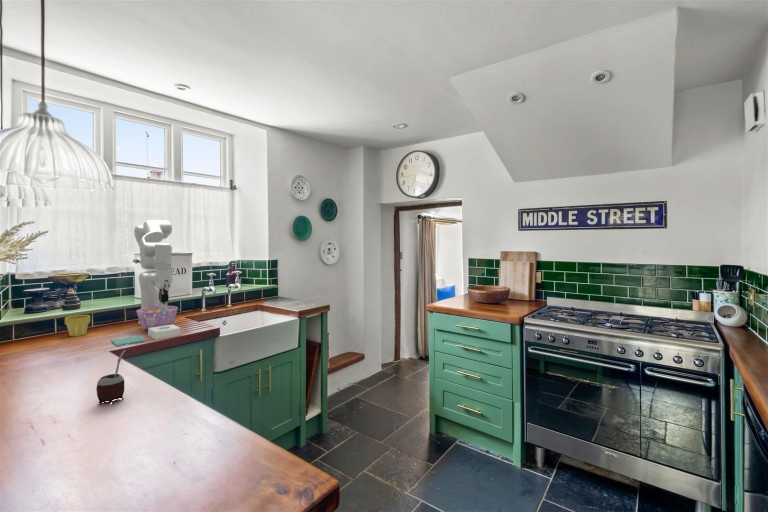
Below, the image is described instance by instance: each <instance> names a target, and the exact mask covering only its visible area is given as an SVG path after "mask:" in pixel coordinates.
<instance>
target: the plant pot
mask: <svg viewBox="0 0 768 512" xmlns="http://www.w3.org/2000/svg"><path fill="white" fill-rule="evenodd" d="M90 323H91V315H89V314H83V315H82V314H79V315H78V314H77V315H72V316H66V317H65V318H64V325H66V327H67V331H68V334H69V337H82V336H86V334H87V330H88V326H89V324H90ZM81 335H82V336H81Z"/></svg>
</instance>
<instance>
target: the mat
mask: <svg viewBox="0 0 768 512" xmlns="http://www.w3.org/2000/svg"><path fill="white" fill-rule="evenodd" d="M144 341H146V342H147V339H146V338H144V337H142V336H141V335H134V336H128V337H122V338H121V337H120V338H115V339H110V342H111V343H112V344H113V345H114V346H116V347H122V346H121V345H123V346H127V345H126V344H129V345H132V344H131V343H135V344H139V343H138V342H140V343H145V342H144Z"/></svg>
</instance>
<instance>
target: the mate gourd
mask: <svg viewBox="0 0 768 512" xmlns="http://www.w3.org/2000/svg"><path fill="white" fill-rule="evenodd" d="M126 351H127V350H126V349H124V350H123V351H122V352H121V354H120V355H119V357H118V358H117V365H116V368H115V373H111V374H106V375H104V376H101V377H100V378H99V379H98V381H97V383H96V387H95V388H96V389H95V390H96V396H97V399H98V404H99V403H102V402H105V401H109V402H110V403H111V402H112V400H114V399H118V398H124V396H123V395H124V394H125V379H124V377H123V375H121V374H120V373H118V372H119V367H120V364H121V363H120V362H121V361H122V357H123V355H124V353H125V352H126Z"/></svg>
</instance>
